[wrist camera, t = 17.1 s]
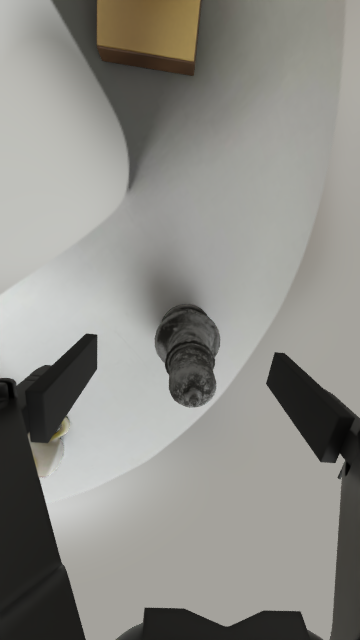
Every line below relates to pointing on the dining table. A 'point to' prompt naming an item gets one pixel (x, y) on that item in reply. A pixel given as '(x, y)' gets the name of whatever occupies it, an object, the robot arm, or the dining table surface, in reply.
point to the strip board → (149, 33)
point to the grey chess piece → (188, 354)
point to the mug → (49, 451)
